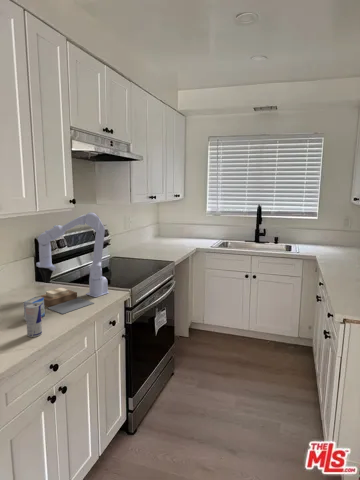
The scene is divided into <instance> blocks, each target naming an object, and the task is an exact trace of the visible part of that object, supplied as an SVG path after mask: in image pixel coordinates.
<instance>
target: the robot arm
mask: <svg viewBox="0 0 360 480" xmlns="http://www.w3.org/2000/svg"><path fill="white" fill-rule="evenodd" d="M79 225H80V226H82V225H83V226H85V225H87V226H88V227H90V228H92V229H93V230H94V232H95V238H94V246H93V256H92V264H91V266H90V268H89V277H88V281H89V283H88V284H89V285H88V286H89V292H87V293H85V294H86V295H87V296H90V297H93V298H98V297H101V296H103V295H104V296H105V295H107V294H109V293H110V292H109V285H108V279H107V278H106V277H105V276H103V268H102V259H103V252H104V242H105V233H106V228H105V226H104V224H103V222H102V220H101V218H100V217H99V216H98V215H97V214H96V213H95V212H93V211H90V212H87V213H84V214H82V215H80V216H77V217H76V218H74V219H72V220H70V221H69V222H66V223H65V224H63V225H59V224H57V225H53V227H52V228H50V229H46V230H45V231H44V232H42V233H41V234H39V235H38V237H37V242H38V252H39V253H38V255H39V261H38V262H36V265H35V266H36V267H38V272H39V273H40V276H41V277H42V281H43V282H44V283H50V282H51V278H52V274H53V273H54V271H56V270H57V266H56V265H54V264H53V263H52V261H53V260H52V258H53V257H52V246H51V242H52V241H53V242H54V241H55V240H57V239H59V238H61V237H63V236H65V234H66V233H65V232H67V231H68V230H71V229H73V228H75V227H77V226H79Z"/></svg>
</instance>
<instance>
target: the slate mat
mask: <svg viewBox="0 0 360 480" xmlns="http://www.w3.org/2000/svg"><path fill="white" fill-rule="evenodd" d="M93 304H95V302H92V301H90V300H88V299H84V298H81V297H77V298H76V299H73V300H70V301H67V302H64V303H60V304H57V305H54V306H51V307H47V309H48V310H50V311H52V312H56V313H58V314H60V315H65V314H68V313H71V312H74V311H77V310H79V309H82V308H83V309H84V308H85V307H88V306H90V305H93Z"/></svg>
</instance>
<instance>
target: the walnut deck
mask: <svg viewBox="0 0 360 480" xmlns="http://www.w3.org/2000/svg"><path fill="white" fill-rule="evenodd" d="M68 290H69V293H68V294H65V295H62V296H58V297H55V298H52V297H49V296H46V293H44V294H42V295H38V296H36V297H43V298H44V307H46V308H48V307H51V306H54V305H57V304H60V303H64V302H67V301H70V300H73V299H76V298H78V291H74V290H72V289H68Z"/></svg>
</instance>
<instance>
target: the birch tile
mask: <svg viewBox="0 0 360 480" xmlns="http://www.w3.org/2000/svg"><path fill="white" fill-rule="evenodd" d="M69 290H70V289H68V288H64V287H58V288H55V289H50V290H47V291H45V294H46V296H49V297H52V298H55V297H58V296H62V295H65V294H68V293H69Z"/></svg>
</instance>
